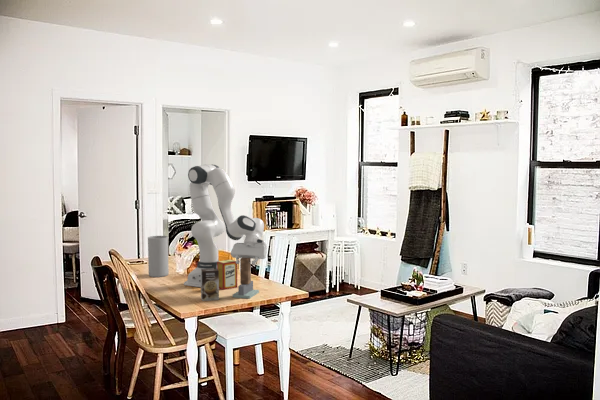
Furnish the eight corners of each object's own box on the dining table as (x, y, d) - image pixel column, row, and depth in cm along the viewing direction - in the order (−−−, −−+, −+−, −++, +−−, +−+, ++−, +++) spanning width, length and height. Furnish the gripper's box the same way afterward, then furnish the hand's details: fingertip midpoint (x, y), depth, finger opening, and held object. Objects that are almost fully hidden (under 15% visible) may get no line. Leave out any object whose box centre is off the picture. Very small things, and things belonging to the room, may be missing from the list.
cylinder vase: (165, 277, 350) (164, 238, 348) (146, 277, 351) (145, 238, 349) (170, 273, 363) (169, 235, 361) (151, 273, 363) (151, 235, 361)
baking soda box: (223, 289, 317) (223, 262, 316) (217, 287, 322) (217, 260, 321) (237, 287, 323) (237, 260, 322) (231, 285, 328) (231, 258, 327)
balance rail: (232, 297, 300) (232, 285, 299) (242, 291, 313) (242, 280, 313) (249, 298, 297) (249, 286, 296) (258, 292, 310) (258, 281, 310)
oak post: (240, 283, 303) (240, 258, 302) (243, 282, 307) (243, 257, 306) (248, 284, 302) (247, 259, 301) (250, 282, 306) (250, 257, 305)
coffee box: (202, 301, 292) (201, 271, 290) (201, 298, 298) (200, 268, 297) (219, 300, 294) (218, 270, 293) (217, 297, 300) (217, 267, 299)
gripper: (233, 239, 312) (226, 259, 304) (266, 240, 306) (260, 261, 298) (236, 246, 317) (229, 265, 308) (269, 247, 311) (263, 268, 302)
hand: (245, 263), depth 303 cm, fingers open, 8 cm apart
